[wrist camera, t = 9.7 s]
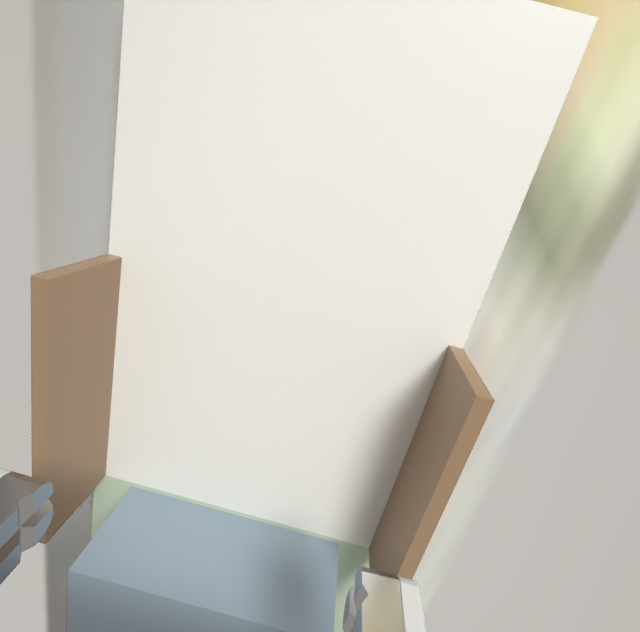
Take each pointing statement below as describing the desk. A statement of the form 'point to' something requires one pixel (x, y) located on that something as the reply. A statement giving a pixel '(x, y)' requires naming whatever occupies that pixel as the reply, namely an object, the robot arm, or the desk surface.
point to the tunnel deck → (297, 263)
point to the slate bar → (199, 573)
